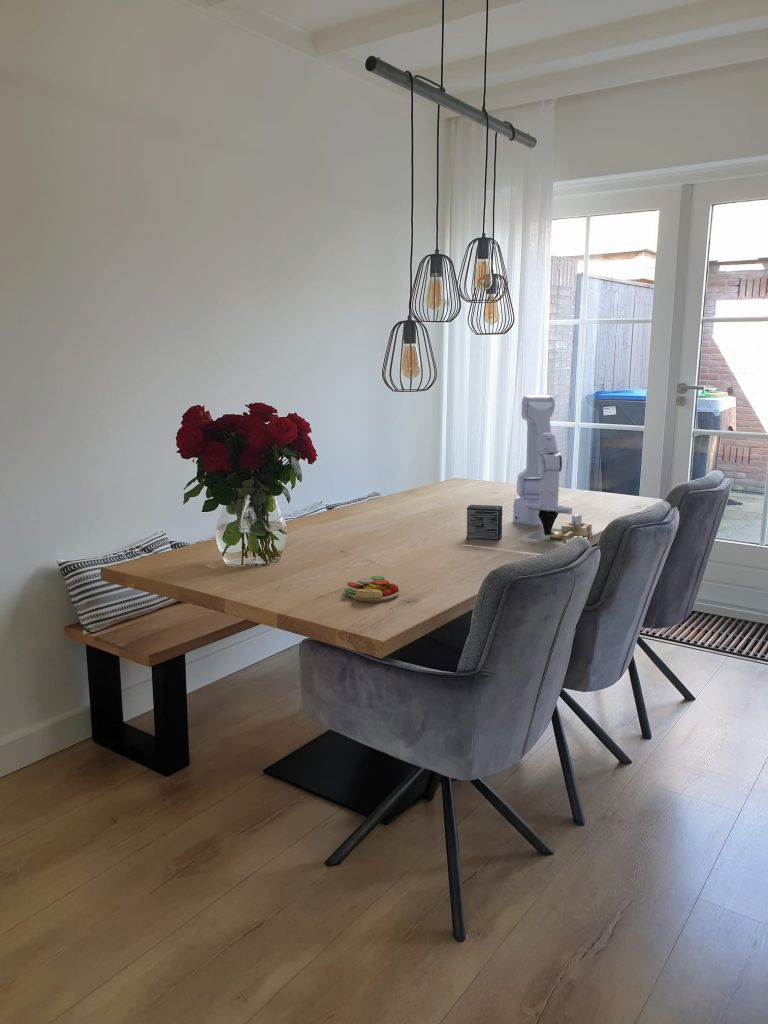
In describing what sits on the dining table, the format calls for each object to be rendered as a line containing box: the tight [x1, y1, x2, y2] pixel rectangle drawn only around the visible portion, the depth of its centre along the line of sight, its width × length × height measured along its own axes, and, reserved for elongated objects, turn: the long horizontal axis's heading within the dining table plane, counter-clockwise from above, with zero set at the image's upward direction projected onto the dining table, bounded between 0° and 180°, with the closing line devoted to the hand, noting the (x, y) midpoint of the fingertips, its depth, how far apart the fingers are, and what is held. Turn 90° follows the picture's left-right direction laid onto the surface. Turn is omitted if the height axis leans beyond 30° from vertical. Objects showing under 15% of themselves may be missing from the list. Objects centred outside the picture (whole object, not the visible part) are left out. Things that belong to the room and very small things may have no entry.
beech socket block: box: [560, 520, 593, 537], centre depth 263 cm, size 8×8×3 cm
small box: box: [466, 504, 503, 541], centre depth 258 cm, size 11×6×10 cm, turn 74°
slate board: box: [526, 527, 574, 543], centre depth 261 cm, size 15×17×1 cm
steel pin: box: [571, 514, 583, 526], centre depth 262 cm, size 3×3×6 cm
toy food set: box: [344, 575, 400, 603], centre depth 201 cm, size 13×13×3 cm
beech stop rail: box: [562, 531, 573, 543], centre depth 254 cm, size 1×6×2 cm, turn 150°
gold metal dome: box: [550, 531, 563, 540], centre depth 256 cm, size 4×4×2 cm
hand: (547, 534), depth 258 cm, fingers closed
